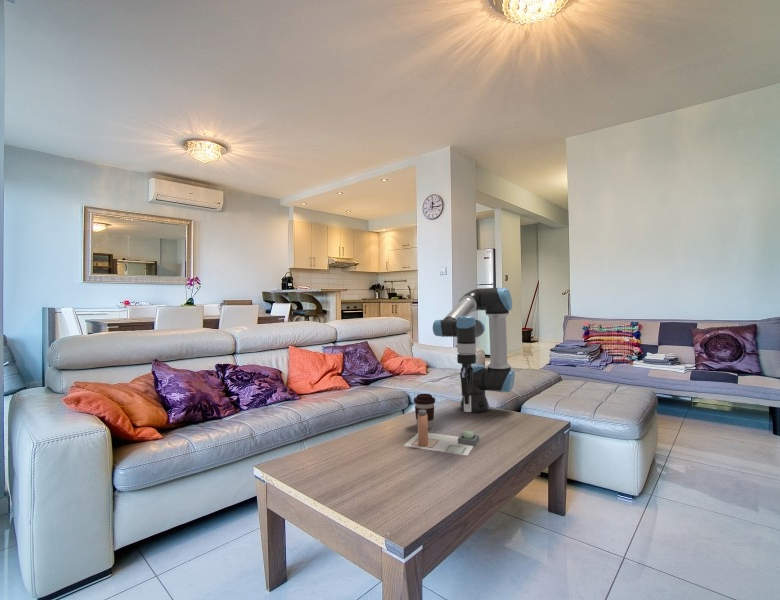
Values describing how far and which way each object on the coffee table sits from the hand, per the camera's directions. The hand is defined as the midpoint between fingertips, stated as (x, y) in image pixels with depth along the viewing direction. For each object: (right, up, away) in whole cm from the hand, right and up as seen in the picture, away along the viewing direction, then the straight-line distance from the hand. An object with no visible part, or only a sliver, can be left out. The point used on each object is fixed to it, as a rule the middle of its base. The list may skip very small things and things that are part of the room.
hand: (467, 411), depth 154 cm
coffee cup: (-16, -14, +20) cm, 29 cm away
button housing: (0, -12, 0) cm, 13 cm away
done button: (0, -12, 0) cm, 13 cm away
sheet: (-11, -13, 0) cm, 17 cm away
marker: (-18, -13, -2) cm, 22 cm away
